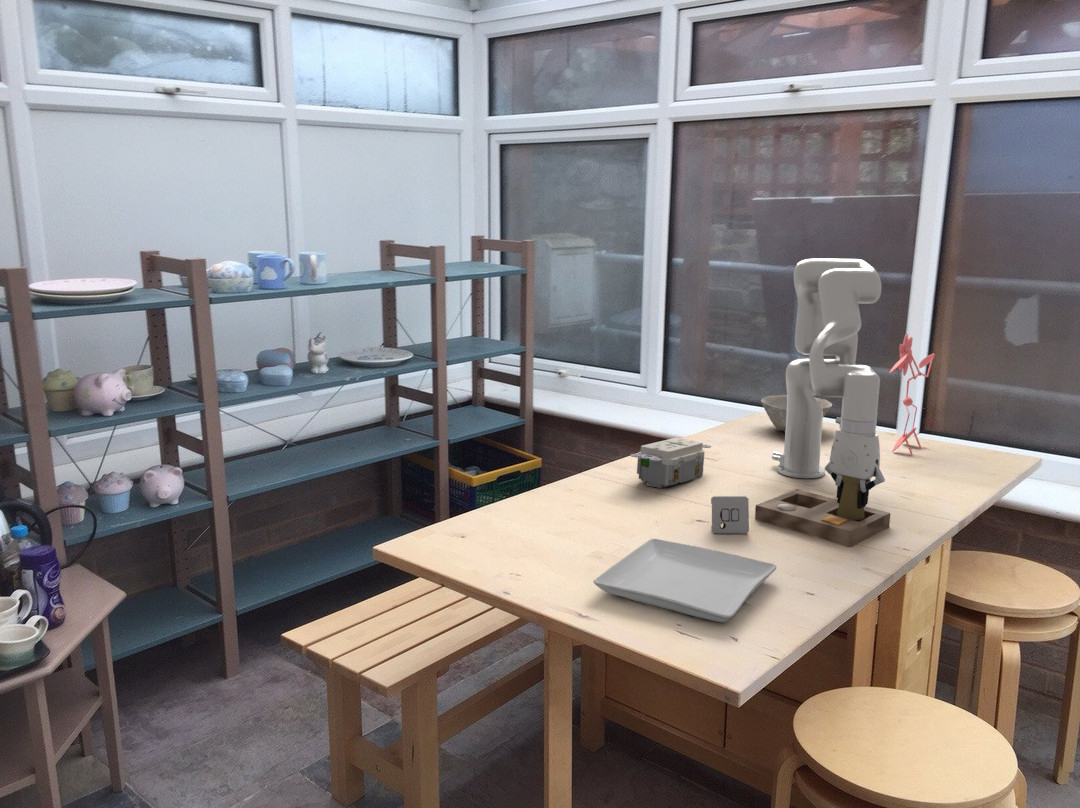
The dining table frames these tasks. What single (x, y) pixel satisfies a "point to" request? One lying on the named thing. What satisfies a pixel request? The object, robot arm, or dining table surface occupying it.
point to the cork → (850, 500)
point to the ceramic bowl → (785, 409)
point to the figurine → (903, 364)
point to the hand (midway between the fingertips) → (851, 503)
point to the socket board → (820, 517)
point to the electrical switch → (730, 514)
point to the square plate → (686, 579)
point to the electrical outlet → (670, 462)
